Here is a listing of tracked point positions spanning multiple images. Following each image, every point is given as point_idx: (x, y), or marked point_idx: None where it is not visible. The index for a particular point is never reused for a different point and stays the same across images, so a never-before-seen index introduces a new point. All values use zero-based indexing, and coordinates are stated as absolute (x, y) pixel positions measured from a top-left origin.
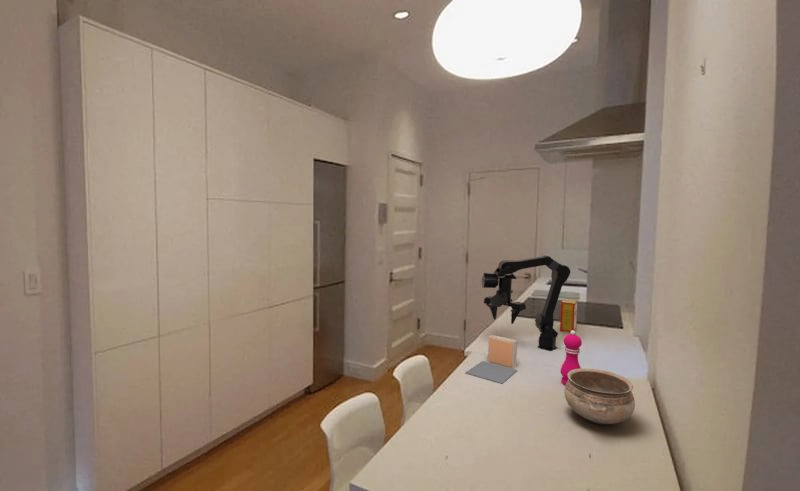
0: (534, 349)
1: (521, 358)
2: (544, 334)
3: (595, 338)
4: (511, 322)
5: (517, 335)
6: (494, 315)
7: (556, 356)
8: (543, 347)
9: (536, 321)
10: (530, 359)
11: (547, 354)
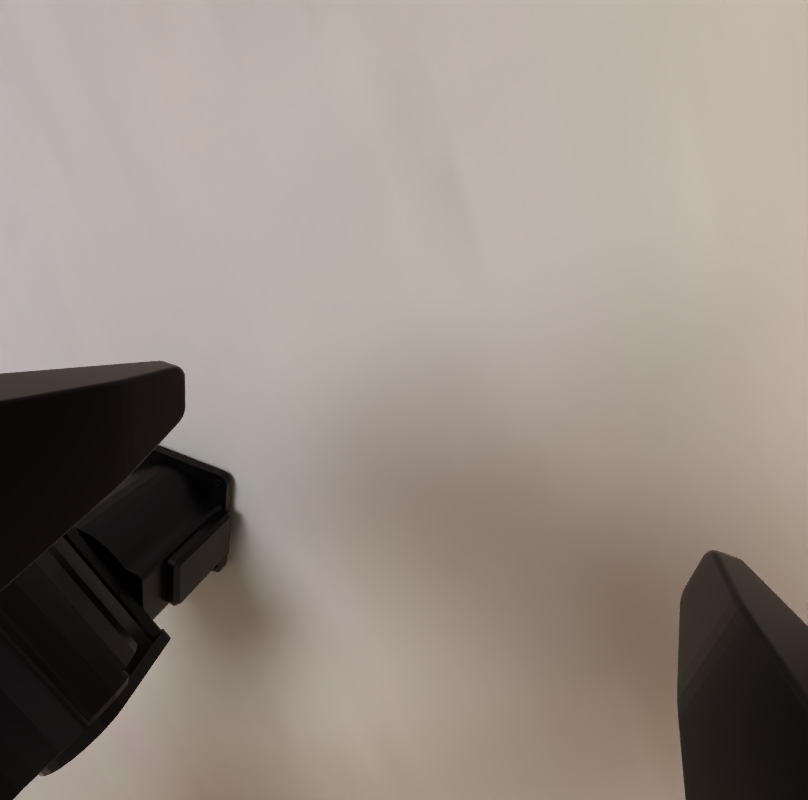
0: (232, 413)
1: (210, 54)
2: (73, 542)
3: (79, 753)
4: (146, 367)
5: (487, 714)
6: (744, 658)
7: (48, 332)
8: (178, 467)
9: (31, 686)
10: (138, 94)
11: (109, 341)
